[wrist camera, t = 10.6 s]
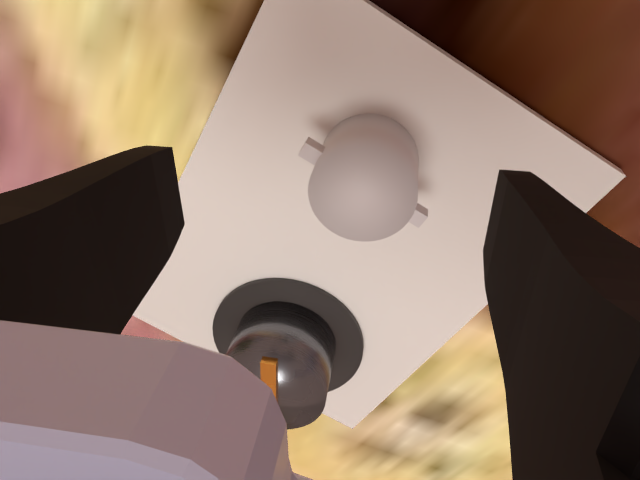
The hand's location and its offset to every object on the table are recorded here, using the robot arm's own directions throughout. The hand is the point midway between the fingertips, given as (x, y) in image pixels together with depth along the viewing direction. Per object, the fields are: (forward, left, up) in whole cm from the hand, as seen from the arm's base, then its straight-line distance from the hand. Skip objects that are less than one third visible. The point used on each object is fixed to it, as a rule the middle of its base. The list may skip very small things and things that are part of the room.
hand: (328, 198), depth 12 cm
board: (-3, +8, -10) cm, 13 cm away
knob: (-4, +14, -9) cm, 17 cm away
